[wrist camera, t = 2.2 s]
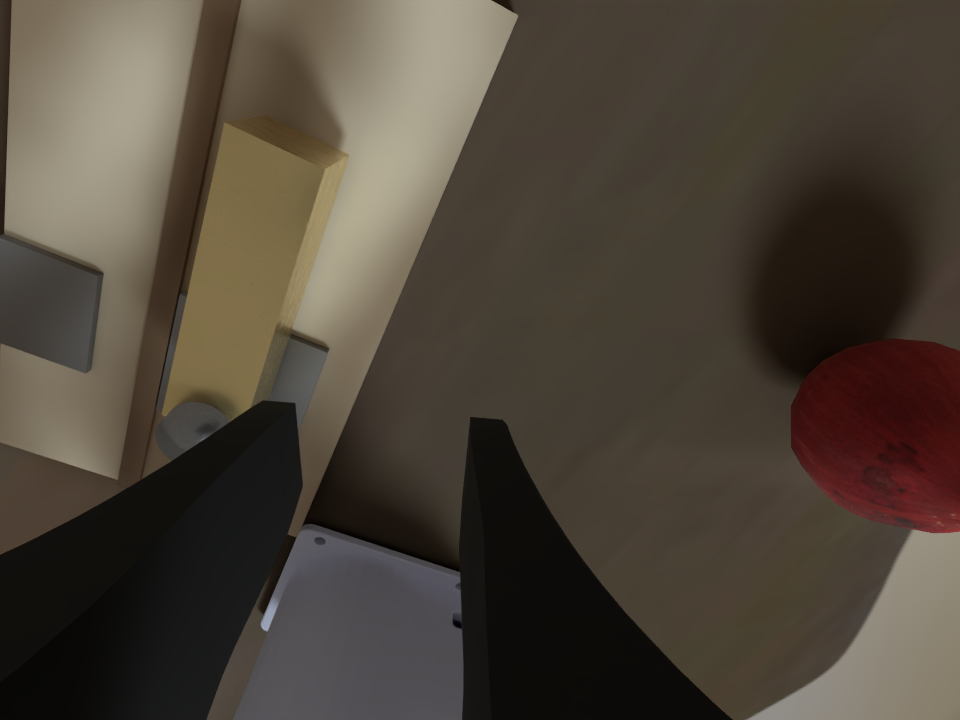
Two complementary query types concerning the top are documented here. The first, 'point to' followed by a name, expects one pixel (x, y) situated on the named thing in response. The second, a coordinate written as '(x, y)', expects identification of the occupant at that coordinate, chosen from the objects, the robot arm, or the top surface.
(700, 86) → the top surface
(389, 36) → the door board
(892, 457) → the onion
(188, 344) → the swing bar
